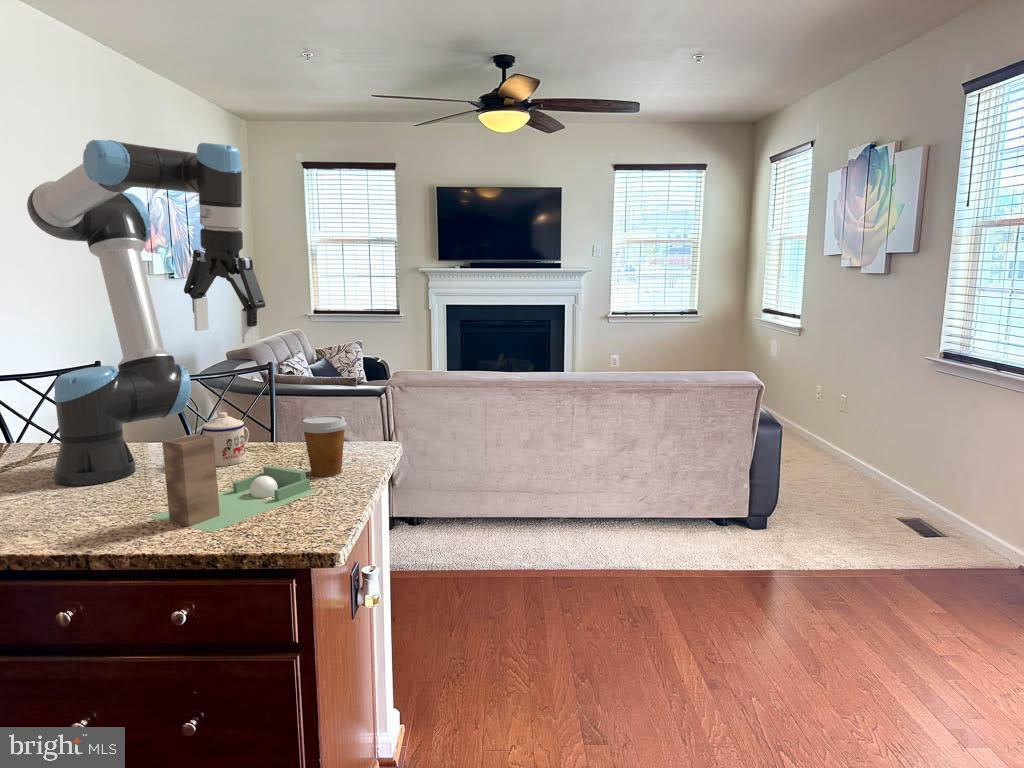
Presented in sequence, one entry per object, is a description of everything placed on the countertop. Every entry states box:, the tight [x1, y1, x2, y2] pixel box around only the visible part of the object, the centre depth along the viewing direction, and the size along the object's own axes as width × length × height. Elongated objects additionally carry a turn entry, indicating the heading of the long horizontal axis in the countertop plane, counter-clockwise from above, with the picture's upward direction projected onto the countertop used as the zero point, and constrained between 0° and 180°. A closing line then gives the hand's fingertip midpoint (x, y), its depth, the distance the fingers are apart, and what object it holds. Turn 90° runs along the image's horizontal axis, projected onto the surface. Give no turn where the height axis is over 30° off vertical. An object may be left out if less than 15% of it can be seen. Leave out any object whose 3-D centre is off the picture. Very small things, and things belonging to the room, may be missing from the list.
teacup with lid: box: [201, 411, 250, 467], centre depth 159 cm, size 12×9×12 cm
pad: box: [149, 465, 318, 533], centre depth 124 cm, size 16×24×5 cm, turn 152°
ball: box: [249, 476, 279, 499], centre depth 129 cm, size 5×5×5 cm
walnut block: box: [162, 433, 220, 528], centre depth 115 cm, size 5×6×14 cm
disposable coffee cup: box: [300, 414, 347, 477], centre depth 147 cm, size 10×10×12 cm
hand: (224, 336), depth 136 cm, fingers open, 13 cm apart
